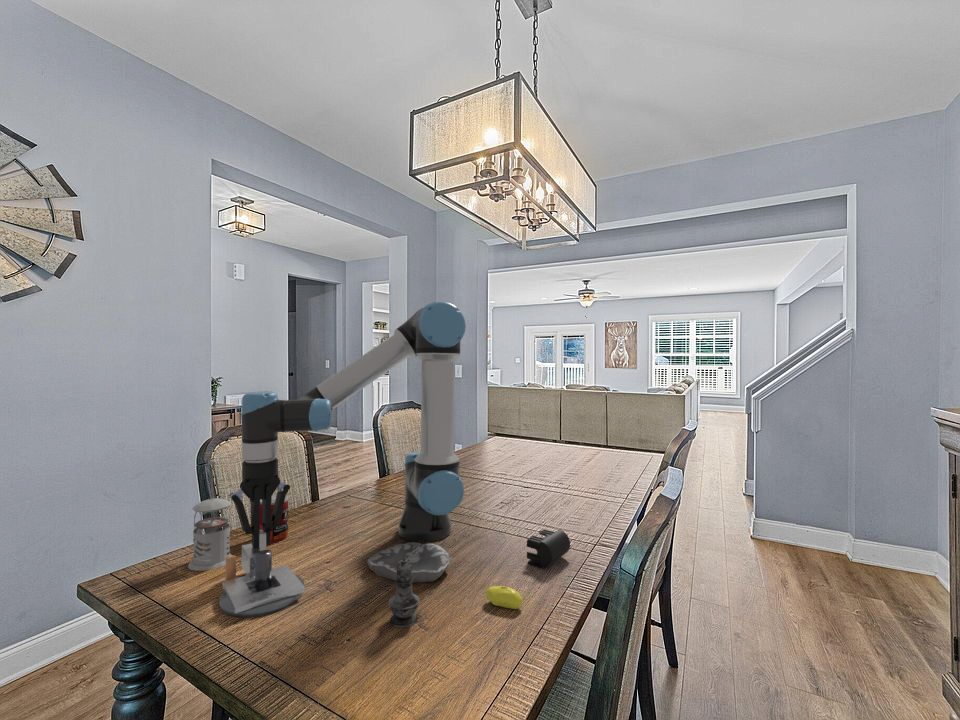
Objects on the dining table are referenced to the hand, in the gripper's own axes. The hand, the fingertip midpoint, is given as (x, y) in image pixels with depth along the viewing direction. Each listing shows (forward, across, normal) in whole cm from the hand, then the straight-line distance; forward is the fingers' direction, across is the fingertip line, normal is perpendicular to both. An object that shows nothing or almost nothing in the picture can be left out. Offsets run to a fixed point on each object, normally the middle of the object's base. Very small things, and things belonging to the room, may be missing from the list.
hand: (261, 559), depth 105 cm
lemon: (+4, -32, +47) cm, 57 cm away
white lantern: (+3, +7, -16) cm, 17 cm away
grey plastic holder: (+2, +3, +7) cm, 8 cm away
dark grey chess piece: (+3, -14, +38) cm, 41 cm away
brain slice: (+4, -28, +21) cm, 35 cm away
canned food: (+4, -9, -20) cm, 22 cm away
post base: (+3, +3, +11) cm, 12 cm away
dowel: (+3, +6, 0) cm, 7 cm away
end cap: (+4, -55, +41) cm, 68 cm away
